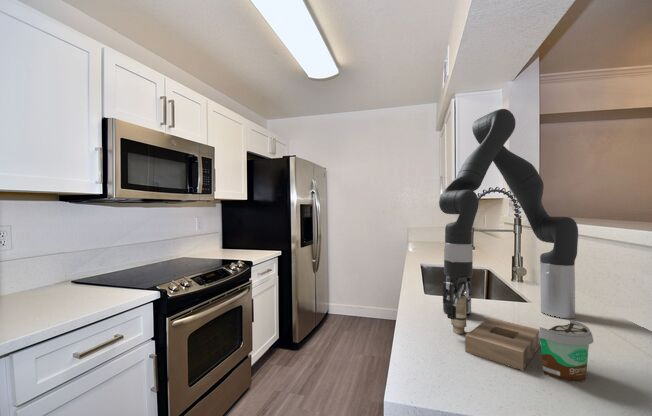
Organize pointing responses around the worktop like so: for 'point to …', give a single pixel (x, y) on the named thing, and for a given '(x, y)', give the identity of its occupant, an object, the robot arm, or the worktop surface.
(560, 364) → the food container
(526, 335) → the board
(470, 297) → the ink bottle
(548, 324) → the worktop surface
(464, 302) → the peg
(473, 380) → the worktop surface
